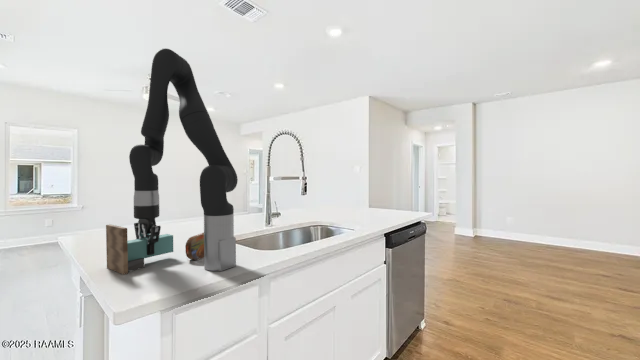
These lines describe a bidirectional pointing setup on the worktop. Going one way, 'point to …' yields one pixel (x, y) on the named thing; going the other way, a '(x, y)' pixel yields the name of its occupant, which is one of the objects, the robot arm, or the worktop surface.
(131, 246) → the rail
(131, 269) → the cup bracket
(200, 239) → the tin
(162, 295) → the worktop surface
